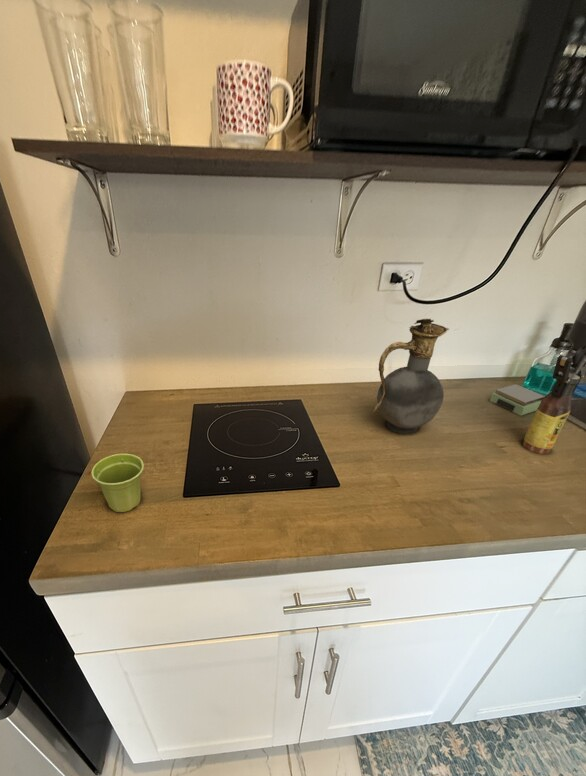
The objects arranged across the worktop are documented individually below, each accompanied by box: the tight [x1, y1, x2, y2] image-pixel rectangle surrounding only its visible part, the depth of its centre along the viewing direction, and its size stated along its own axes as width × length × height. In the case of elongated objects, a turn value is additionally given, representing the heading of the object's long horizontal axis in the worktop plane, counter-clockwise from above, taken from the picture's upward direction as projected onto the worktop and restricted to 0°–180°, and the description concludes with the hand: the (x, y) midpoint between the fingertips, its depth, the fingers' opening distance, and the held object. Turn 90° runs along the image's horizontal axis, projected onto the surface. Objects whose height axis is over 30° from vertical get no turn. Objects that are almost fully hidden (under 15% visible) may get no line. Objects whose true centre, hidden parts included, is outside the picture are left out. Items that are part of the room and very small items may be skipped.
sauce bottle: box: [522, 372, 581, 455], centre depth 93 cm, size 6×6×20 cm
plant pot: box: [91, 453, 145, 513], centre depth 76 cm, size 9×9×9 cm
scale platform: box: [494, 383, 546, 405], centre depth 116 cm, size 9×9×1 cm
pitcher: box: [372, 318, 450, 435], centre depth 96 cm, size 11×19×30 cm, turn 108°
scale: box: [489, 392, 541, 416], centre depth 117 cm, size 10×10×3 cm
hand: (562, 394), depth 90 cm, fingers closed on sauce bottle, 4 cm apart
